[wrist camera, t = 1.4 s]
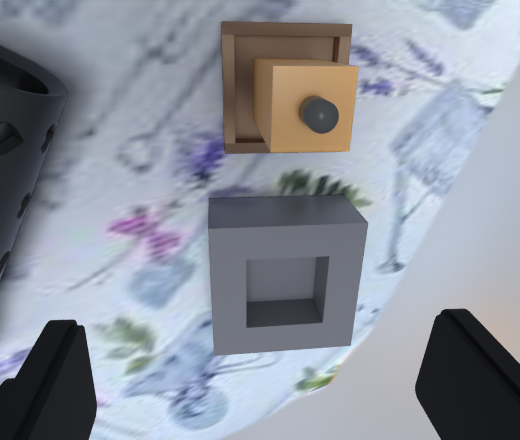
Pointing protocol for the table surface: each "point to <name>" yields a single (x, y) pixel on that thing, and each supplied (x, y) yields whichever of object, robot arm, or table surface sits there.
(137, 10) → the table surface
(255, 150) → the tray
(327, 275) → the socket block
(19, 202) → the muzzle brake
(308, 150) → the plug
